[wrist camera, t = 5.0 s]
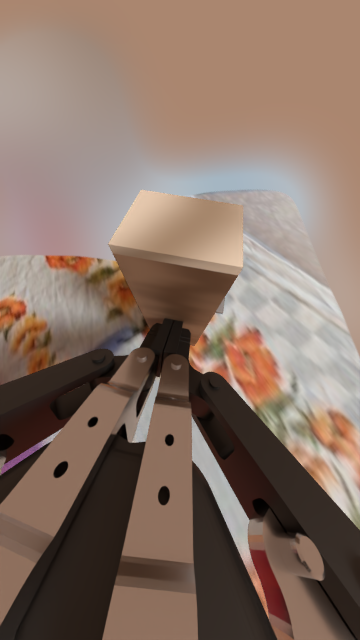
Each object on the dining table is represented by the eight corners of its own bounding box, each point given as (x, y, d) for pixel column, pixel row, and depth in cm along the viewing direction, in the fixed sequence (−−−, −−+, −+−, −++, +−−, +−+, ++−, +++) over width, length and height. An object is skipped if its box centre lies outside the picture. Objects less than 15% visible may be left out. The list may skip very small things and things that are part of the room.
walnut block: (154, 337, 16) (108, 244, 5) (162, 309, 18) (141, 189, 7) (194, 345, 16) (242, 267, 5) (198, 316, 18) (242, 205, 6)
